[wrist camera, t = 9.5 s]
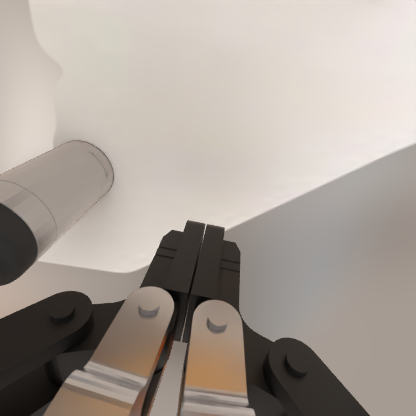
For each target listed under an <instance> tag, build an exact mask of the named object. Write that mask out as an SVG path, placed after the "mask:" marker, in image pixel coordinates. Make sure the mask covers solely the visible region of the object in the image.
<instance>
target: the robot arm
mask: <svg viewBox="0 0 416 416" xmlns="http://www.w3.org/2000/svg"><path fill="white" fill-rule="evenodd" d="M112 183H113V170H112V167H111V164H110V162H109V161H108V159H107V158H106V156H105V155H104V154H103V153H102V152H101V151H100V150H99V149H98V148H96V147H94V146H93V145H91V144H89V143H86V142H82V141H71V142H67V143H65V144H63V145H61V146H59V147H57V148H55V149H53V150H50V151H48V152H46V153H44V154H42V155H40V156H38V157H36V158H34V159H31V160H29V161H28V162H25V163H23V164H21V165H19V166H17V167H15V168H13V169H11V170H9V171H7V172H5V173H2V174H1V175H0V286H2V285H5V284H9V283H11V282H12V281H14V280H16V279H17V278H19V277H20V276H21V275H22V274H23V273H24V272H25V271H26V270H27V269H29V267H30V266H32V265H33V263H34V262H36V261H37V260H38V259H39V258H40V257H41V256H42V255H43V254H44V253H45V252H46V251H47V250H48V249H49V248H50V247H51V246H52V245H53V244H54V243H55V242H56V241H57V240H58V239H59V238H60V237H61V236H62V235H63V234H64V233H65V232H66V231H67V230H68V229H69V228H70V227H71V226H72V225H73V224H74V223H75V222H76V221H77V220H78V219H80V218H81V217H82V216H83V215H84V214H85V213H86V212H87V211H88V210H89V209H90V208H91V207H92V206H93V205H94V204H95V203H96V202H97V201H98V200H99V199H100V198H101V197H102V196H103V195H104V194H105V193H106V192H107V191H108V190H109V189H110V188H111V186H112ZM224 229H225V228H224V227H219V226H214V225H209V224H207V226H206V230H205V224H204V223H199V222H194V221H189V220H188V221H187V223H186V226H185V229H184V232H180V231H175V230H171V231H170V232H169V233H167V234H166V235H165V236H164V237H163V238H162V241H161V243H160V245H159V248H158V249H157V252H156V254H155V256H154V258H153V260H152V262H151V265H150V267H149V269H148V271H147V273H146V276H145V278H144V280H143V282H142V284H141V286H140V288H139V289H137V290H135V291H134V292H132V293H131V294H130V295H129V296H128V297H127V299H125V300H122V301H119V302H115V303H104V304H92V302H91V300H90V299H89V297H88V296H86V295H85V294H83V293H81V292H76V291H66V292H61V293H57V294H55V295H53V296H50V297H48V298H46V299H44V300H41V301H39V302H37V303H35V304H32V305H30V306H28V307H26V308H24V309H21V310H19V311H17V312H15V313H12V314H10V315H8V316H6V317H4V318H1V319H0V416H149V415H150V412H151V409H152V406H153V403H154V400H155V397H156V394H157V391H158V388H159V385H160V382H161V379H162V376H163V373H164V370H165V367H166V364H167V361H168V359H169V356H170V353H171V349H172V345H173V341H174V340H175V341H180V340H181V336H182V331H183V327H184V323H185V318H186V323H185V329H184V334H183V340H182V342H185V343H188V344H187V350H186V355H185V360H184V365H183V370H182V378H181V386H180V394H179V401H178V409H177V416H370V415H369V414H368V413H367V412H366V411H365V409H364V408H363V407H362V406H361V405H360V404H359V403H358V401H356V399H355V398H354V397H353V396H352V395H351V394H350V392H348V390H347V389H346V388H345V387H344V386H343V384H342V383H341V382H340V381H339V380H338V379H337V378H336V376H335V375H334V374H333V373H332V372H331V371H330V370H329V369H328V367H327V366H326V365H325V364H324V363H323V362H322V361H321V359H320V358H319V357H318V356H317V355H316V354H315V353H314V351H312V350H311V348H309V347H308V346H307V345H305V344H304V343H303V342H301V341H298V340H296V339H293V338H281V339H279V340H276V341H275V342H272V341H270V340H268V339H267V338H265V337H263V336H261V335H259V334H257V333H256V332H254V331H253V330H252V329H250V328H249V327H248V326H247V325H246V323H245V322H244V320H243V319H242V317H241V315H240V312H239V284H240V283H239V282H240V251H239V249H238V247H237V245H236V243H234V242H229V241H225V240H223V237H224ZM204 230H205V235H204ZM203 235H204V239H203ZM202 241H203V243H202ZM201 246H202V247H201ZM188 305H189V306H188ZM187 310H188V312H187ZM186 314H187V317H186Z"/></svg>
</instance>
